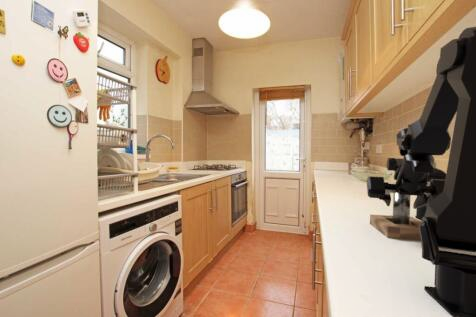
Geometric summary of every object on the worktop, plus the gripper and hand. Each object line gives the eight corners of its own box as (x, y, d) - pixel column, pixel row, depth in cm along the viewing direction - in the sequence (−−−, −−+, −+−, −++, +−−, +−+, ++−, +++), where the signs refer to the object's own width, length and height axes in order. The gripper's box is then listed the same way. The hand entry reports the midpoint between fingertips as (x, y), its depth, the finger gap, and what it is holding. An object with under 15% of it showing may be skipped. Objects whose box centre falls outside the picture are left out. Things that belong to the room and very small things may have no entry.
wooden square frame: (437, 241, 60) (438, 229, 60) (387, 237, 62) (387, 226, 62) (411, 226, 72) (411, 216, 71) (369, 223, 74) (370, 214, 74)
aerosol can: (443, 218, 81) (446, 162, 80) (448, 224, 74) (450, 162, 73) (414, 214, 85) (416, 161, 85) (416, 220, 78) (418, 161, 78)
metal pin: (409, 235, 64) (411, 192, 63) (392, 232, 66) (393, 190, 66) (408, 231, 67) (410, 190, 67) (392, 228, 69) (393, 189, 69)
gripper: (452, 148, 58) (433, 186, 68) (368, 148, 65) (363, 182, 76) (467, 183, 51) (444, 219, 61) (371, 178, 58) (365, 211, 69)
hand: (400, 206), depth 67 cm, fingers open, 6 cm apart
